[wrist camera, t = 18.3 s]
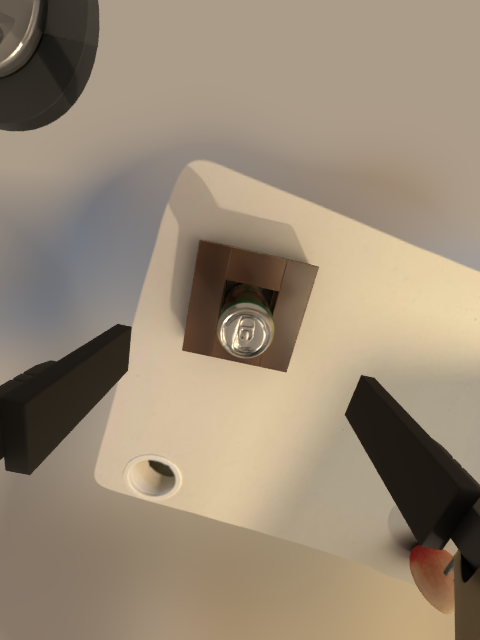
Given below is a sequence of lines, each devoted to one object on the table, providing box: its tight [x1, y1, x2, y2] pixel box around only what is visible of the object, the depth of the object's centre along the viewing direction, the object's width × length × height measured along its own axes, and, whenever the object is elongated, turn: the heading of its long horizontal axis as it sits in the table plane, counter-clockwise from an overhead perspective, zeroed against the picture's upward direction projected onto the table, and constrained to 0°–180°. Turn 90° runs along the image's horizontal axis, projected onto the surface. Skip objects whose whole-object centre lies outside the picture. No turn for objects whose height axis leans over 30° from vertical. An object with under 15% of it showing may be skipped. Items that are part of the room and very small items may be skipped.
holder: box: [182, 240, 319, 372], centre depth 29 cm, size 13×13×4 cm
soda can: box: [217, 284, 275, 358], centre depth 25 cm, size 5×5×12 cm
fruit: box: [410, 544, 455, 614], centre depth 40 cm, size 8×8×8 cm
